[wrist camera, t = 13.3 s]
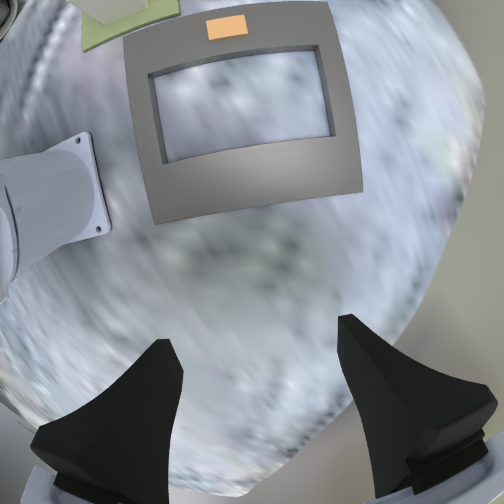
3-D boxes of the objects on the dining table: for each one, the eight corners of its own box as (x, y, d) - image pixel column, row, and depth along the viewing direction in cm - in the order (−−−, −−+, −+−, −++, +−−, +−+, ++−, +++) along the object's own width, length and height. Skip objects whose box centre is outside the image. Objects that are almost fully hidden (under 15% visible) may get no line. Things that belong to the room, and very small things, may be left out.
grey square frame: (160, 220, 18) (152, 227, 17) (129, 42, 13) (120, 35, 12) (357, 189, 18) (365, 193, 16) (323, 8, 12) (328, -1, 11)
